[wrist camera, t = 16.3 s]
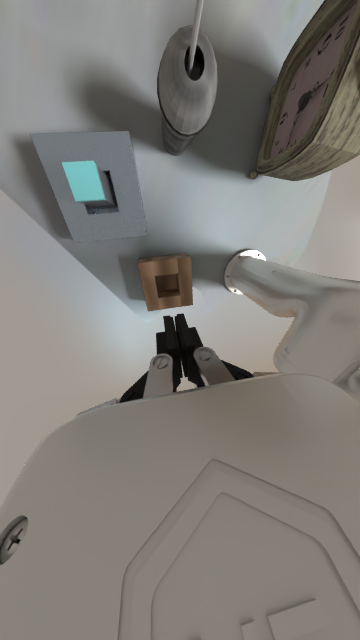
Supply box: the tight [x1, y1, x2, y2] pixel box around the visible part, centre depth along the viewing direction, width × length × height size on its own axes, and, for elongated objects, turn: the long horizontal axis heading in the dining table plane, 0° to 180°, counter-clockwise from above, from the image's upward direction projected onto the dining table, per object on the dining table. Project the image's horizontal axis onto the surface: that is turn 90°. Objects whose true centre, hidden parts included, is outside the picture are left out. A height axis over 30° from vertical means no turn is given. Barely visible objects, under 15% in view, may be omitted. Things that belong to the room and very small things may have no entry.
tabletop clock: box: [250, 0, 360, 181], centre depth 20 cm, size 14×9×25 cm, turn 175°
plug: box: [62, 161, 118, 209], centre depth 25 cm, size 4×4×11 cm
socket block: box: [30, 131, 148, 243], centre depth 28 cm, size 14×14×6 cm
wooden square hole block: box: [137, 253, 193, 311], centre depth 39 cm, size 12×12×6 cm
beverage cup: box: [157, 0, 217, 156], centre depth 20 cm, size 7×7×20 cm
